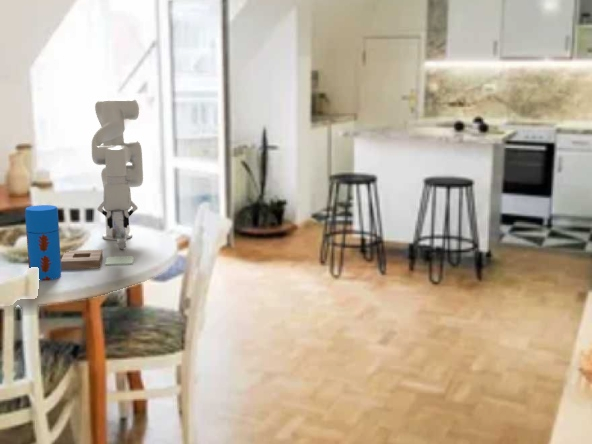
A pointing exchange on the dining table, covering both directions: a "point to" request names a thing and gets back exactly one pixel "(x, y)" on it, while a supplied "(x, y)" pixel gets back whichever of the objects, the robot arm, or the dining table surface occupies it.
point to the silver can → (118, 224)
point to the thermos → (43, 240)
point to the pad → (119, 260)
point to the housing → (81, 259)
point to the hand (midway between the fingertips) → (118, 227)
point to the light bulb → (123, 239)
